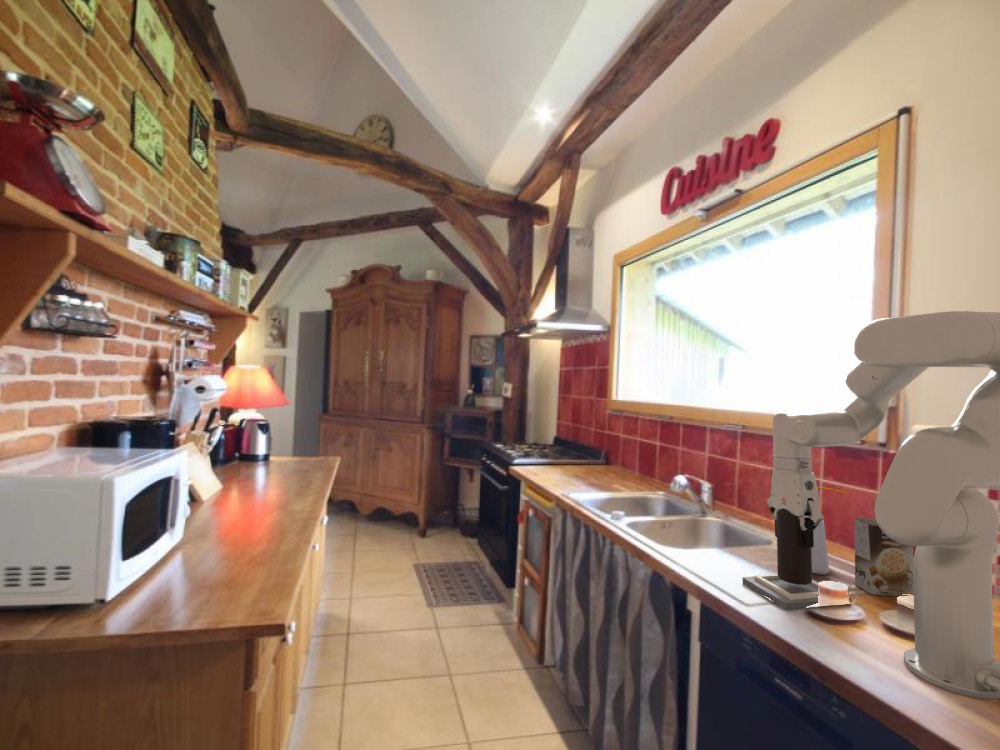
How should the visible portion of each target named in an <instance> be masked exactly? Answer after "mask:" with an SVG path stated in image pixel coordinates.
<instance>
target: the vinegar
mask: <svg viewBox="0 0 1000 750" xmlns="http://www.w3.org/2000/svg"><path fill="white" fill-rule="evenodd" d="M782 502H785V503H786V500H784V498H782ZM782 504H784V503H782ZM785 505H786V504H785ZM804 515H806V513H805V514H804ZM776 518H777V537H776V555H777V562H776V563H777V574H778V577H779V578H780V579H781V580H783V581H785V582H788V583H792V584H798V585H807V584H810V583H811V582H812V579H813V573H812V554H811V548H801V547H800V546H799V529H801V526H800V523H799V520H798V517H797V516H794V515H793V514H791V513H790V512H789V511H788V510H787V509H784V508H781V509H779V510H778V511H777V513H776ZM804 520H805V523H807V522H808V518H804Z"/></svg>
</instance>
